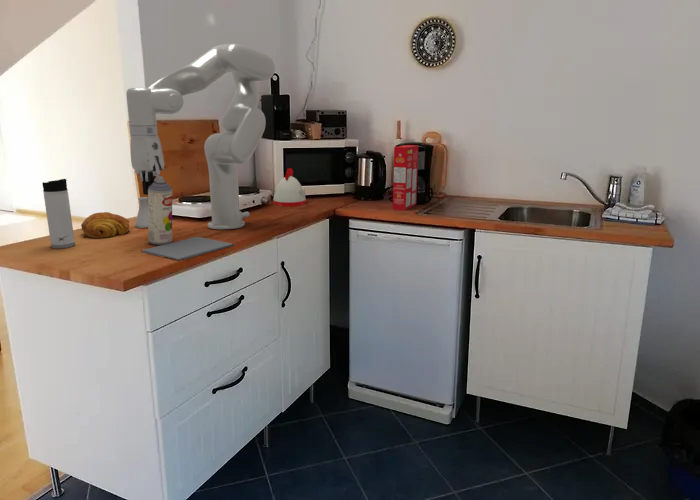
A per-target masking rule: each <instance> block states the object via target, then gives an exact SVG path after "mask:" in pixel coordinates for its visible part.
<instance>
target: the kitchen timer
mask: <svg viewBox="0 0 700 500" xmlns="http://www.w3.org/2000/svg"><path fill="white" fill-rule="evenodd" d="M286 170H287V171H286V172H285V174H284V177H283V178H281V179H280V181H279V182H278V184H277V185H276V187H274V190H273V199H272V200H273V205H274V206H279V207H297V206H303V205H306V204H307V200H306V199H307V198H306V191H305V187H304V186H302V184H301V183H300V181H298V179H297V178H296V177H294V170H293V168H287V169H286Z"/></svg>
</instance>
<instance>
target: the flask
mask: <svg viewBox="0 0 700 500" xmlns="http://www.w3.org/2000/svg"><path fill="white" fill-rule="evenodd" d="M138 201H139V202H138V203H139V205H138V211H137V214H136V215H137V216H136V218H135V223H134V227H135V228H140V229H144V228H145V229H146V228H148V196H147V197H146V196H144V197H138Z"/></svg>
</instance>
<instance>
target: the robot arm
mask: <svg viewBox="0 0 700 500" xmlns="http://www.w3.org/2000/svg"><path fill="white" fill-rule="evenodd" d="M275 71H276V67H275V62H274V60H273V59H272V58H271V57H270V55H268V54H266V53H264V52H261V51H259V50H256V49H254V48H251V47H248V46H247V45H246V46H245V45H243V44H239V43H224V44H219V45H215V46H213V47H211V48H209V49H208V50H207V51H206V52H204V53H203V54H201V55H200V56H198V57H197V58H196V59H194V60H193V61H192V62H190V63H188V64H187V65H185V66H183V67H181V68H179V69H177V70H175V71H174V72H173V71H172V72H171V73H169V74H167V75H165V76H164V77H162V78H160V79H158V80H157V81H155V82H154V83H152V84H151V85H150V86H148V87H146V88H145V87H130V88H128V89H127V90H126V93H125V94H126V95H125V96H126V104H127V105H126V107H127V114H128V124H129V126H128V127H129V134H130V136H129V137H130V142H129V143H130V149H129V150H130V162H131V167H132V169H134V173H136V174H137V175H139V177H140V178H139V179H140V181H141V185H142V194H143V195H146V196H148V189H149V186H150V185H152V183H154V182H155V181H156V180H157V177H158V176H161V171H163V170H164V169H165V162H164V161H165V160H164V154H163V149H162V143H161V139H160V137H159V135H158V126H157V125H158V123H157V115H173V114H177V113H178V112H180V111H181V110H182V109H183V107H184V97H183V96H186V95H191V94H194V93H198V92H200V91H204V90H205V89H207V88H209V87H210V86H211V85H212V84H213V83H215V82H216V81H218V79H220V78H221V77H223V76H224V75H225V74H227V73H231V74H232V76H233V80H234V83H235V92H234V95H233V98H232V99H231V101H230V103H229V105H228V107H227V109H226V111H225V112H224V114H223V116H222V119H221V126H222V129H223V130H224V131H225V132H226V133H225V132H224V133H223V132H217V133H213V134H211V135H209V136H208V138H206V140H205V142H204V156H205V159H206V163H207V168H208V177H209V179H208V180H209V193H210V194H209V195H210V209H211V210H210V211H211V221H209V222H208V223H207V227H208V228H209V229H213V230H221V231H222V230H233V229H240V228H243V227H244V226H246V222H245V221H244V220H243V219H245V218H248V217H250V212H249V211H243V212H242V211H241V210H240V196H239V195H240V193H239V176H238V174H239V173H238V170H237V167H236V164H237V165H238V164H245V163H246V162H248V161H249V160H250V159H251V158H252V156H253V155H254V153H255V150H256V149H257V146H258V144H259V143H260V141H261V138H262V136H263V134H264V132H265V129H266V123H267V122H266V115H265V114H264V112H263V110H261V109H260V108H258V106H259V103H260V93H259V89H258V86H257V83H256V82H266V81H269V80H270V79H272V77H273V76H274V74H275Z"/></svg>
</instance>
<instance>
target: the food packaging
mask: <svg viewBox="0 0 700 500" xmlns="http://www.w3.org/2000/svg"><path fill="white" fill-rule="evenodd" d="M418 163H419V144H417V145H416V144H405V145H400V146H399V145H398V146H394V147H393V179H392V180H393V182H392V183H393V185H392V188H393V189H392V210H395V211H397V210H398V211H406V210H410V209H411V208H413V207H414V206H416V205H417V196H418V195H417V194H418V193H417V192H418V168H419V167H418V166H419V164H418Z"/></svg>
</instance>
